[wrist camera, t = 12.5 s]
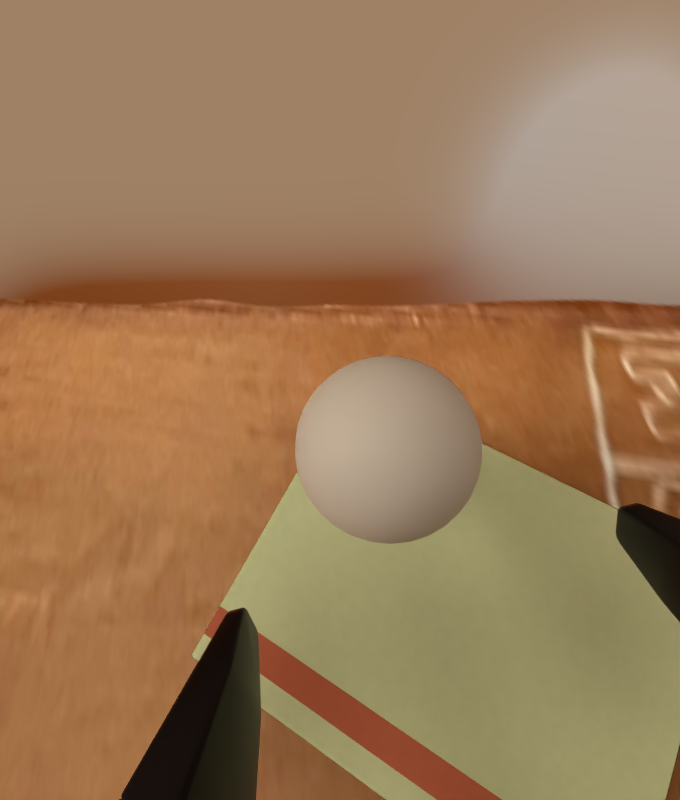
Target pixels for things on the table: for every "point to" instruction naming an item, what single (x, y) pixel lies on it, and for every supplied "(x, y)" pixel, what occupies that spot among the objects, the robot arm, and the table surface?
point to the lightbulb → (388, 449)
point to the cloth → (469, 647)
